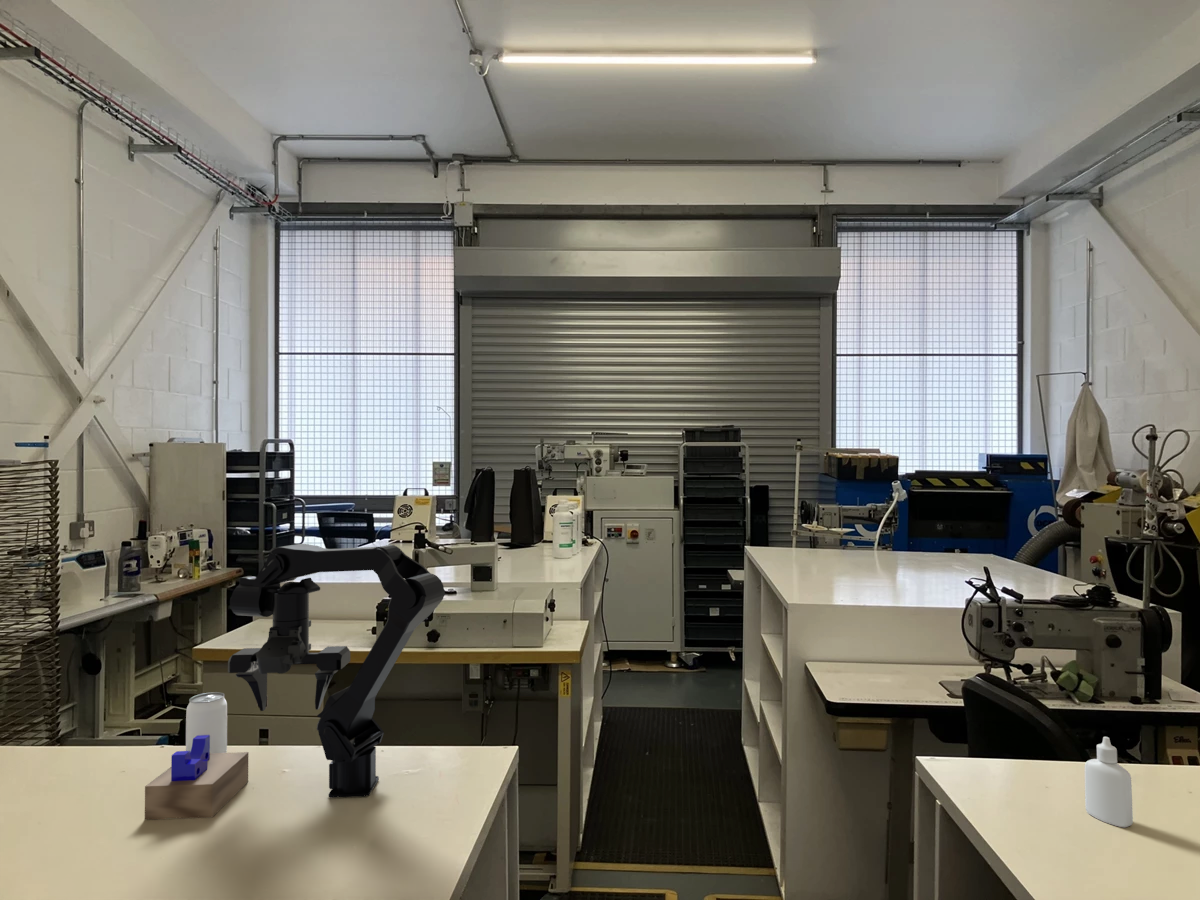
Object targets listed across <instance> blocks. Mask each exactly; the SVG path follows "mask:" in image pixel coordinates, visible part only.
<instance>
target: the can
mask: <svg viewBox="0 0 1200 900" xmlns="http://www.w3.org/2000/svg"><path fill="white" fill-rule="evenodd" d="M188 701H189V703H188V705H187V707H186V710H185V711H186V712H185V713H186V714H185V717H186V718H185V751H191V748H192V743H193V738H195V737H196V736H197V735H210V753H228V702H227V700H226V698H225V693H224V692H217V691H215V692H214V691H213V692H211V691H210V692H206V693H205V692H204V693H199V694H197V695H194V696H192V697H190V698H189V700H188Z"/></svg>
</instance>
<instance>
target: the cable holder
mask: <svg viewBox="0 0 1200 900" xmlns="http://www.w3.org/2000/svg"><path fill="white" fill-rule="evenodd" d="M209 759H210V735H197V736H196V737H195V738H193V743H192V748H191V751H186V750H181V751H180V750H179V751H175V752H174V753H173V754H171V760H170V761H171V763H170V764H171V766H170V767H171V781H189V780H196V779H197V778H198V777H199V776H200V775H201V774H202V773H204V772H205V771H206V770H207V762H208V760H209Z"/></svg>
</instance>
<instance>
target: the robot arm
mask: <svg viewBox="0 0 1200 900" xmlns="http://www.w3.org/2000/svg"><path fill="white" fill-rule="evenodd" d="M357 571H362V572H363V571H373V572H374V573H375V574H376V575H377V576H378V580H379V582H380V584H381V587H382V589H383V590H384V591H385V593H387V595H388V596H389V597H390V600H389V603H388V606H387V607H388V608H387V611H388V612H387V621H386V622H385V625H384V626H383V628H382V629H381V631H380V632H379V635H378V637H377V639H376V640H375V642H374V644H373V645H372V647H371V649H370V650H369V653H368V654H367V656H366V658H365V659H364V661H363V663H362V664H361V666H360V668H359V670H358V671H357V672H356V675H355V676H354V678H353V680H352V682H351V683H350V685H349V686H347V687H345V688H344V689H341V690H340V691H337V692H335V693H333V694H331V695H330V696H329V697H327V700H326V702H325V705H324V707H323V709H322V710H321V712H320V713H319V714H317V718H319V719H318V722H317V725H316V731H318V736H319V738H320V743H321V745H322V749H323V752H324V755H325V759H326V760H327V761H331V762H330V763H329V764H328V788H329V790H330V791H329V793H328V798H331V799H332V798H355V797H363V798H364V797H368V796H370V795H371V793H372V792H373V789H374V788H375V786H376V785H377V783H378V781H379V778H380V777H379V776H378V775H377V772H376V771H377V770H376V769H377V767H376V766H377V765H376V764H377V761H376V759H377V757H376V755H377V754H376V753H377V749H376V748H377V747H376V745H378V744H381V742H382V740H383V736H384V735H385V733H384V731H385V730H383V728H382V727H381V726H380V725H379V724H378V722H377V721H376V720H375V718H374V717H373V715H374V713H375V710H376V697H377V694H378V692H379V691H380V689H381V688H382V686H383V684H384V683H385V681H386V679H387V677H388V675H390V672H391V670H392V669H393V667H394V666H395V663H396V662H397V660H398V658H399V656H400V655H401V653H402V652H403V650H404V648H405V647H406V645H407V643H408V641H409V639H410V638H411V636H412V634H413V633H414V631H415V630H416V628H418V626H420V625H421V623H423V622H424V621H425V620H426V619H427V618H428V617H429V616H430V615H431V614H432V613H433V612H434V611H435V610H436V608H437V607H438V606H439V605H441V603H442V601H443V600H444V597H445V593H446V590H445V588H444V584H443V582H442V579H441V578H440V577H438V575H436V574H433V573H431V572H430V571H429V569H427V568H426V567H425V566H424V565H423V564H421V563H419V562H418V561H416V560H415V559H413V558H411V556H408V555H407V554H406V553H405V552H404V551H403V550H402V549H401V548H400V547H398V546H397V545H395V544H386V545H382V546H381V545H380V546H368V547H365V546H364V547H345V548H326V547H321V546H318V545H315V544H307V543H297V544H291V545H290V544H289V545H284V546H277V547H274V548H272V549H271V550H270V552H269V553H268V555H267V558H266V562H265V563H264V565H263V566H262V568H261V569H260V571H259V572H258V573H257V575H256V576H252V575H247V576H243V577H240V578H239V584H238V585H237V586H236V587H235V589H234V590H233V592H232V593H231V597H230V599H229V607H230V610H231V611H232V613H233V614H235V616H243V617H244V616H247V617H261V618H264V617H265V618H269V617H271V616H272V626H271V627H269V631H268V637H267V641H266V642H264V643H263V645H262V646H261V647H246V648H242V649H241V650H239V651H237V652H234V653H233V654H232V655H231V656H230V657H229V658H228V661H227V673H229V674H235V677H236V678H241V679H243V680H244V681H245V682H247V684H248V686H249V687H250V689H251V691H252V693H253V696H254V699H255V701H256V704H257V706H258V709H259V710H260V712H263V711H265V710H266V706H267V701H268V697H267V696H268V695H267V694H268V673H269V674H271V673H273V674H274V673H277V674H281V675H282V674H285V673H287V672H289V671H290V669H291V668H292V667H291V666H292V665H316V667H317V669H318V670H317V671H316V672H314V675H315V678H316V685H315V687H316V688H315V696H314V698H315V699H314V705H315V706H314V707H315V710H316V711H317V710H319V709H320V708H321V705H322V703H323V701H324V698H325V696H326V692H327V690H328V687H329V685H330V682H331V680H332V679H333V676H334V674H336V673H337V672H338V671H340V670H342V669H343V668H345V667H346V665H348V664H349V663H351V650H350V649H349V648H348V646H347V645H345V646H344V645H342V646H341V645H339V646H338V645H336V646H335V645H334V646H326V647H324V648H323V649H322V650H321V651H319V652H309V651H310V650H312V643H310V640H309V639H310V632H309V631H310V627H312V619H310V594H311V593H315V592H319V591H320V590H321V587H320V585H319V584H317V583H316V582H314V581H313V579H312V578H311V577H307V576H310V575H315V574H318V573H330V572H333V573H334V572H336V573H337V572H357ZM302 577H307V578H302ZM298 578H302V579H301V580H300V581H294V580H296V579H298ZM282 583H284V584H282ZM281 584H282V585H281Z"/></svg>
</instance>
